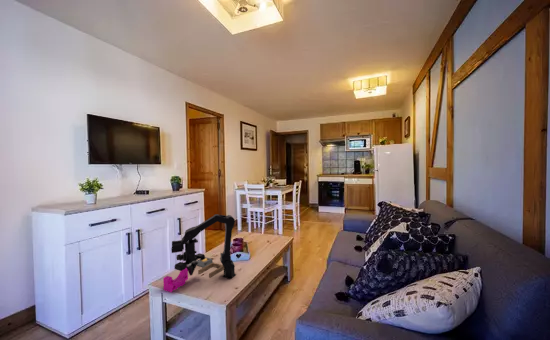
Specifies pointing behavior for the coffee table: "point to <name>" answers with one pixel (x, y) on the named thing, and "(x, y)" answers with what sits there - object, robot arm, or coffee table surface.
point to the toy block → (175, 281)
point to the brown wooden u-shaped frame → (219, 266)
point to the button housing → (203, 264)
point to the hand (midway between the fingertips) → (191, 275)
